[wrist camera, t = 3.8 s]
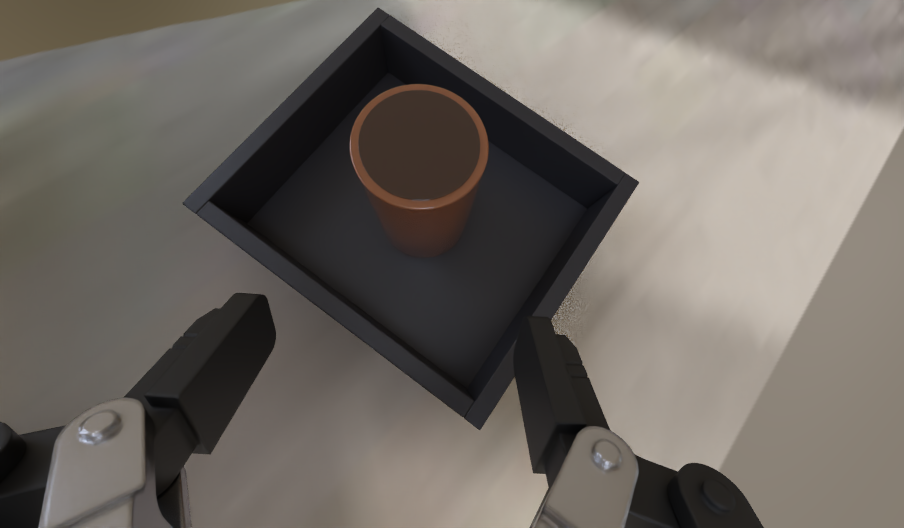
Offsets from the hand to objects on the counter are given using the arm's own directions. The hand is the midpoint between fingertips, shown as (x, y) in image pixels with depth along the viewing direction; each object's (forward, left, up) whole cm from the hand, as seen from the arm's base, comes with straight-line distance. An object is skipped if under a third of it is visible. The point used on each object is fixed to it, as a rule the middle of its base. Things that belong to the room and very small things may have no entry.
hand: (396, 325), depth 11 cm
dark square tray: (-4, +7, -12) cm, 14 cm away
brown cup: (-4, +7, -11) cm, 14 cm away
